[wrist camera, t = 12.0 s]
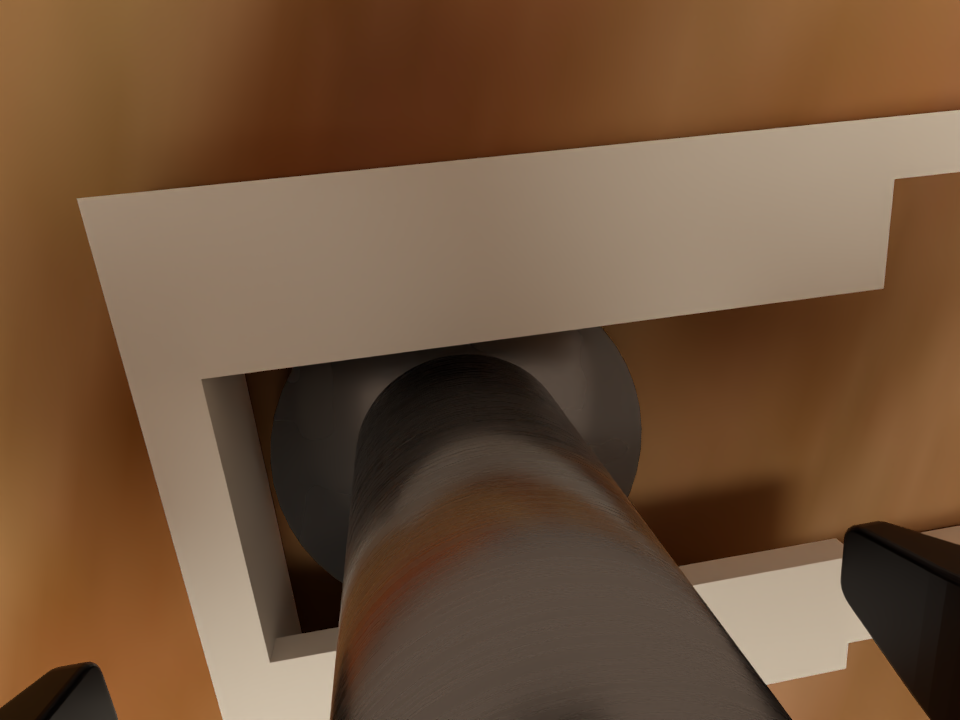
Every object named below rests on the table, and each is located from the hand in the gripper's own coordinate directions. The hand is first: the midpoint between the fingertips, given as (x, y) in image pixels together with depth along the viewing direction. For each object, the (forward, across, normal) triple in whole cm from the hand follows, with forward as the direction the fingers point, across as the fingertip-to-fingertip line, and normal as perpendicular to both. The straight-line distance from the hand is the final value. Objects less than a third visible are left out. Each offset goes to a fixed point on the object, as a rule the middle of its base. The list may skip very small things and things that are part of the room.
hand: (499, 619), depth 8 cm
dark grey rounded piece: (+6, 0, 0) cm, 6 cm away
